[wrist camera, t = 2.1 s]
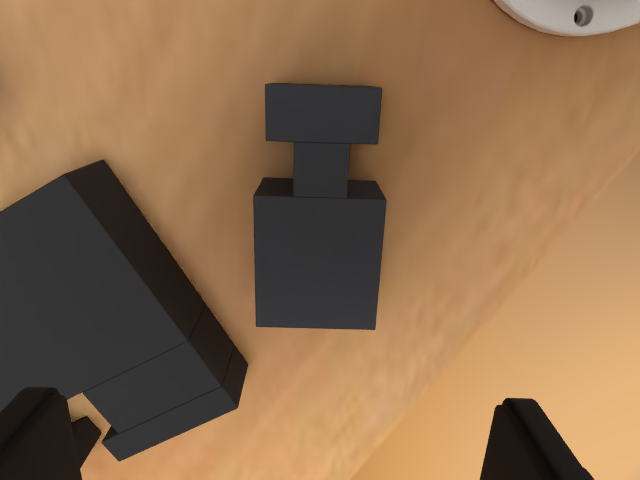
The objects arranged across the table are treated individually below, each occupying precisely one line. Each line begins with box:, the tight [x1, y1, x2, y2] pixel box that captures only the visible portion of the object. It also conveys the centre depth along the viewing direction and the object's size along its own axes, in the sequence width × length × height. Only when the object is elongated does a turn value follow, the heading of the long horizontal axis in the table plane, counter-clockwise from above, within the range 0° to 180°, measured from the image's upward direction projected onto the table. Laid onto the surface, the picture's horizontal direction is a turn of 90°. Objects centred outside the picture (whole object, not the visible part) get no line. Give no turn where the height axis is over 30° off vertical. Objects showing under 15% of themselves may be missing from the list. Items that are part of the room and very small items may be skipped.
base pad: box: [0, 160, 248, 468], centre depth 26 cm, size 20×15×4 cm
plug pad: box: [253, 83, 387, 330], centre depth 23 cm, size 6×12×4 cm, turn 178°
